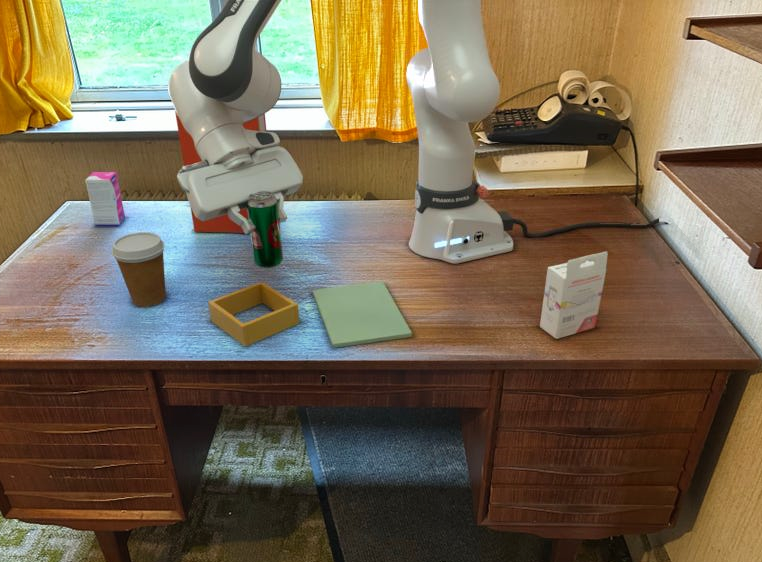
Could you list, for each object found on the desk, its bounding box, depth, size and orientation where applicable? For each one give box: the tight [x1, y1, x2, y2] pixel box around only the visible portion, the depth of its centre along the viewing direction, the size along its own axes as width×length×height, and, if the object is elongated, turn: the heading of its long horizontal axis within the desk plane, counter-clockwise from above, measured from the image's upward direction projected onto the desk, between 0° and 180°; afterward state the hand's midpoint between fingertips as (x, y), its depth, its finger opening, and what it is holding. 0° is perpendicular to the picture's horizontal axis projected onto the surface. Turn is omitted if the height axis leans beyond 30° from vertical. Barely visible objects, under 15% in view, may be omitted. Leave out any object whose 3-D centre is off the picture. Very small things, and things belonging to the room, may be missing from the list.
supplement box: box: [84, 171, 126, 228], centre depth 160 cm, size 6×6×12 cm
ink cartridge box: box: [539, 251, 609, 340], centre depth 114 cm, size 9×5×15 cm, turn 113°
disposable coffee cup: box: [110, 231, 167, 308], centre depth 127 cm, size 10×10×12 cm
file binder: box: [174, 109, 268, 234], centre depth 150 cm, size 8×17×32 cm, turn 84°
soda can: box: [246, 191, 284, 269], centre depth 113 cm, size 5×5×12 cm
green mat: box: [312, 280, 413, 349], centre depth 124 cm, size 14×20×1 cm
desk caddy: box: [207, 281, 301, 348], centre depth 121 cm, size 12×12×4 cm
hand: (267, 226), depth 112 cm, fingers closed on soda can, 5 cm apart
